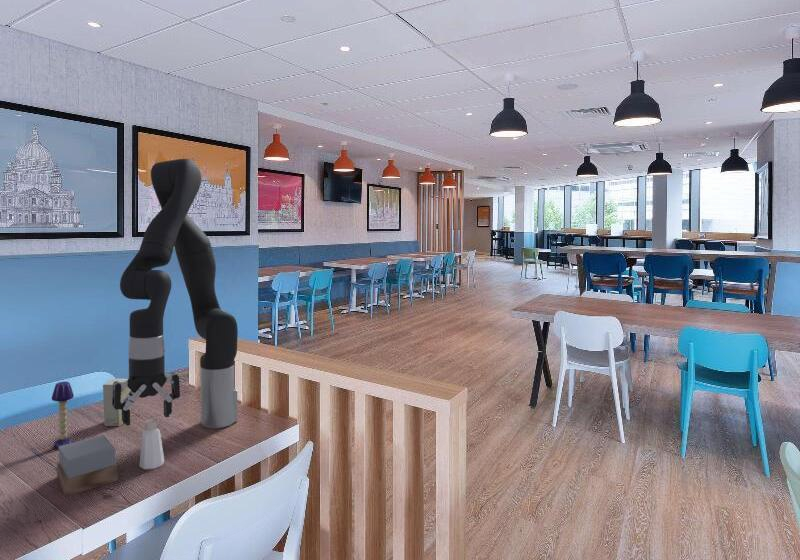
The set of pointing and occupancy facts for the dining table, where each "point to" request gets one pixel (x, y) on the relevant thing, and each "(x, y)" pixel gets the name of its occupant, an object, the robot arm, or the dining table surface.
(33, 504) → the dining table surface
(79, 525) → the dining table surface
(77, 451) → the grey top block
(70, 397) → the toy lamp
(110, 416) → the skincare box
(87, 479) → the walnut base block
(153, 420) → the pepper shaker
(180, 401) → the dining table surface
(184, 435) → the dining table surface
